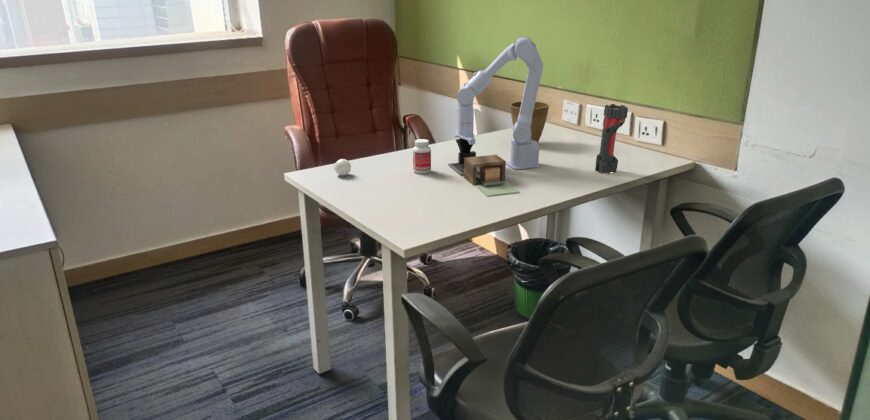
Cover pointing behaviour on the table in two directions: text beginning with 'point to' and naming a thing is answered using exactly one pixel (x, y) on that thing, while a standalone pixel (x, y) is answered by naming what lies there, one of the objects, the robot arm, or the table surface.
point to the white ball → (342, 167)
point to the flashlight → (610, 137)
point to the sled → (483, 171)
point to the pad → (497, 189)
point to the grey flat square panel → (457, 168)
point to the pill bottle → (422, 157)
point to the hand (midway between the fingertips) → (464, 159)
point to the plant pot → (537, 117)
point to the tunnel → (481, 161)
